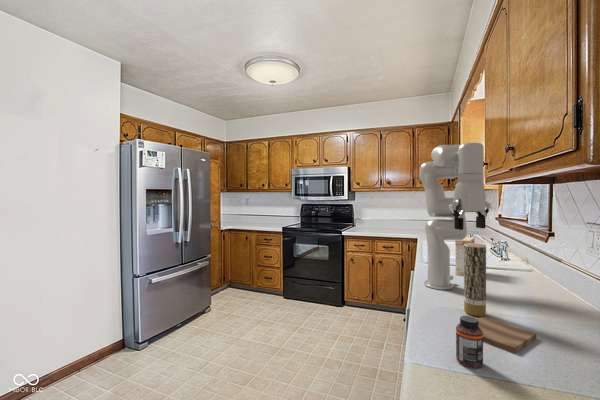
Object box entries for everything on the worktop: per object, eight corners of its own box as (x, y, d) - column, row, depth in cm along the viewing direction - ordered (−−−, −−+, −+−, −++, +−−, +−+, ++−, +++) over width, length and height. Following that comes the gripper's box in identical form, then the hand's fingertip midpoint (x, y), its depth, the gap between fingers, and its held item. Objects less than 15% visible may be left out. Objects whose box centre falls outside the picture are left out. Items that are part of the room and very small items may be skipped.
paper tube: (477, 309, 108) (478, 242, 108) (490, 317, 101) (490, 245, 101) (460, 310, 108) (460, 243, 108) (471, 317, 101) (471, 246, 101)
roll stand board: (482, 320, 98) (482, 316, 98) (536, 338, 86) (536, 333, 86) (458, 332, 90) (458, 327, 90) (514, 353, 78) (514, 348, 78)
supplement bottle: (459, 353, 78) (459, 311, 78) (485, 362, 74) (485, 317, 74) (453, 363, 73) (453, 318, 73) (480, 372, 69) (480, 325, 69)
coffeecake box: (461, 269, 168) (461, 236, 168) (475, 271, 163) (475, 237, 163) (454, 275, 157) (454, 239, 157) (469, 277, 152) (469, 240, 152)
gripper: (479, 179, 106) (479, 226, 107) (441, 179, 101) (441, 228, 102) (499, 179, 99) (498, 228, 100) (459, 178, 94) (459, 231, 94)
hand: (469, 228), depth 101 cm, fingers open, 9 cm apart
